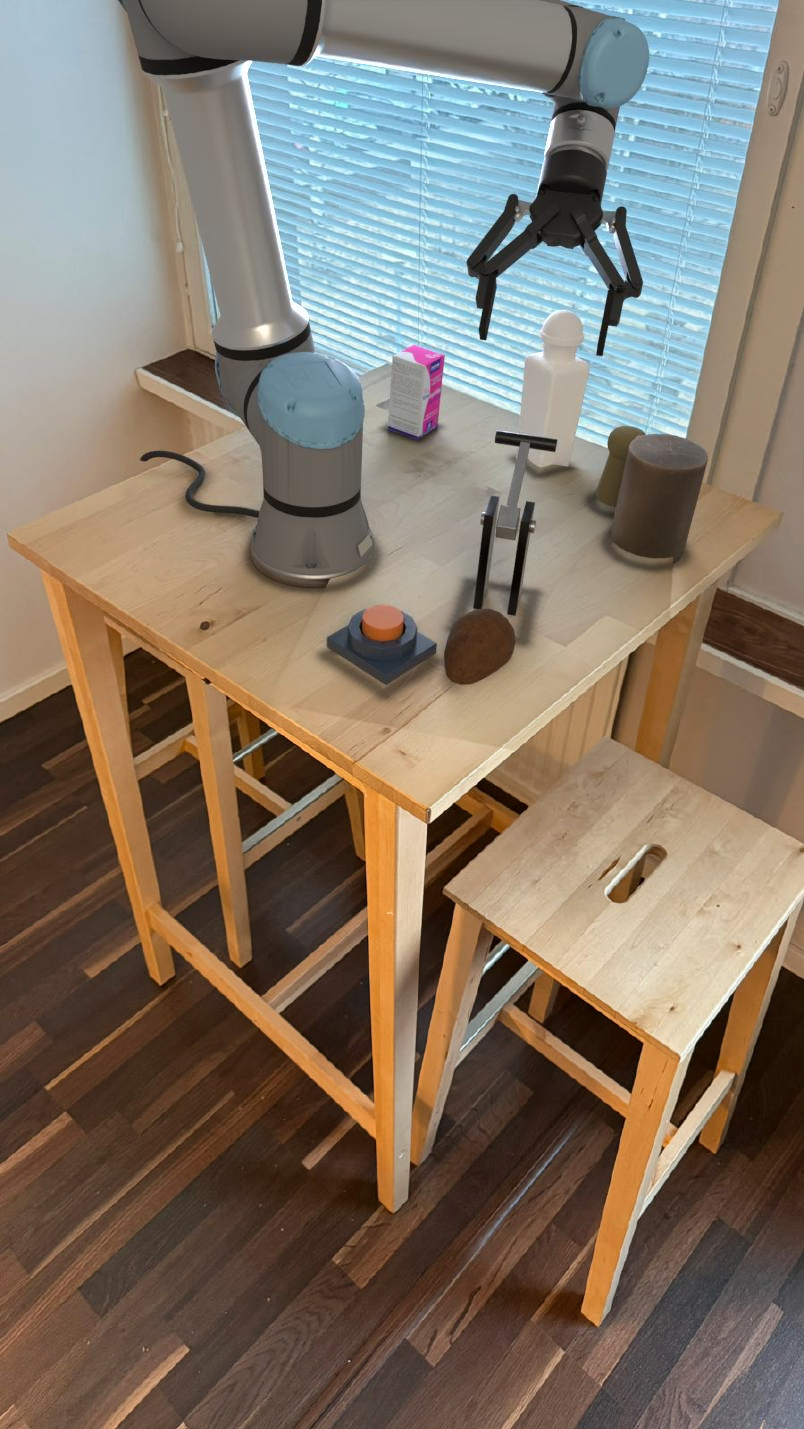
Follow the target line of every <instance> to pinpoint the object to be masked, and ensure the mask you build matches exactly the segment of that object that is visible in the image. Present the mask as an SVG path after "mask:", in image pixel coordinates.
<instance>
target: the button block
mask: <svg viewBox="0 0 804 1429" xmlns="http://www.w3.org/2000/svg"><path fill="white" fill-rule="evenodd" d="M366 609H367V608H363V609H362V610H361V611H359V612H357V613H355V614H354V615H352V616H351V618H350V619H349V622H348V624H347V625H346V626H344V627H343V628H340V629H339V630H337V631H335V632H334V633H332V634H330V635H328V636H327V637H326V648H328V649H329V650H330V651H331V652H334V653H335V654H337V655H338V656H340V657H341V658H343V659H344V660H345V661H347V662H349V663H350V664H352V665H354V666H355V667H357V668H358V669H359V670H361V671H362V672H364V673H365V674H368V675H369V676H370V677H372V678H374V679H375V680H377V681H378V682H380V683H382V684H383V685H385V686H387V685H389V684H391V683H392V682H394V681H395V680H397V679H398V678H400V677H402V676H403V675H404V674H406V673H407V672H409V671H411V670H412V669H413V668H415V667H417V666H418V665H420V664H422V663H423V662H425V661H426V660H428V659H429V658H431V657H433V656H435V655H436V654H437V647H438V643H437V642H435V641H434V640H432V639H430V638H429V637H427V636H425V635H424V634H422V633H420V631H418V626H417V624H416V622H415V620H414V618H413V617H412V616H411V615H409V614H408V613H406V612H404V611H403V610H401V609H399V610H400V611H401V612H402V614H403V617H404V620H403V632H402V635H401V636H400V637H399V638H397V639H396V640H390V641H383V642H382V641H376V640H371V639H370V638H368V637H366V636H365V635H364V633H363V631H362V616H363V613H364V611H365V610H366Z"/></svg>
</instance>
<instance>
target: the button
mask: <svg viewBox="0 0 804 1429" xmlns="http://www.w3.org/2000/svg"><path fill="white" fill-rule="evenodd" d="M365 609H366V610H365V611H364V613H363V616H362V631H363V633H364V635H365V636H366V637H368V638H370V639H371V640H376V641H382V642H383V641H390V640H396V639H397V638H399V637H400V636H401V635H402V632H403V620H404V617H403V614H402V612H403V611H402V610H401V609H399V608H397V607H394V606H392V605H387V604H376V605H372V606H369V607H368V608H365ZM400 610H401V611H402V612H401V611H400Z"/></svg>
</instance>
